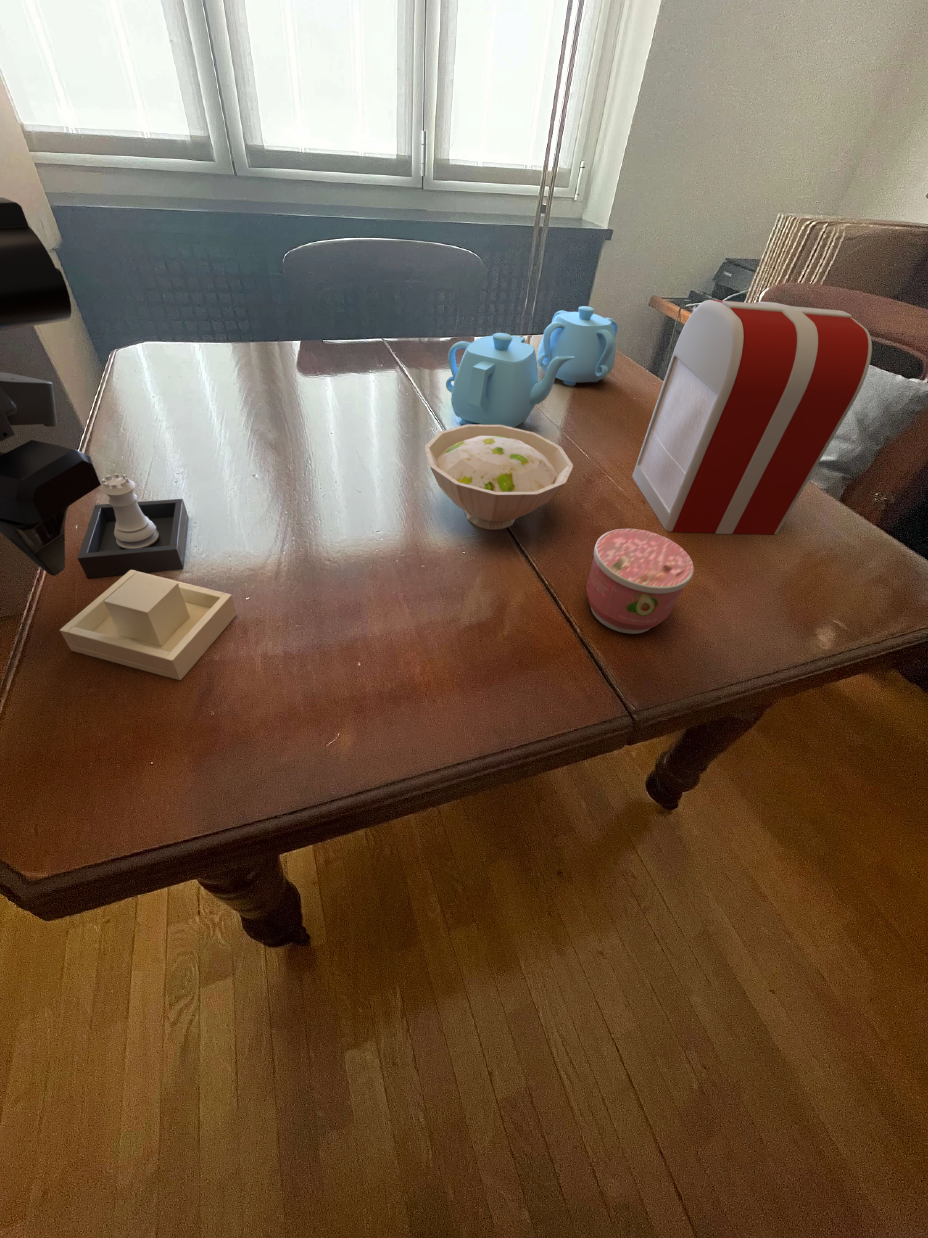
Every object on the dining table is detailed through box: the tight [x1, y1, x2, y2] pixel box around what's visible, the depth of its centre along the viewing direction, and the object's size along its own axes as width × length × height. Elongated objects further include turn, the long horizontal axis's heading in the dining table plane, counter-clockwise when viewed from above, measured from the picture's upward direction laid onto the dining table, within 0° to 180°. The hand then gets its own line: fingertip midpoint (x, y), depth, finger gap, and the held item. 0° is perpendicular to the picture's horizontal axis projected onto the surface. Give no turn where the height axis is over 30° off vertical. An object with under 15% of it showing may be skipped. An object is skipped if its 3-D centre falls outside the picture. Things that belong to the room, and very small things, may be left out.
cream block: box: [104, 573, 190, 647], centre depth 53 cm, size 4×4×4 cm
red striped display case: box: [631, 299, 873, 535], centre depth 75 cm, size 16×18×27 cm
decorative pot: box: [536, 305, 619, 386], centre depth 115 cm, size 16×16×14 cm
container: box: [585, 528, 695, 635], centre depth 61 cm, size 10×10×8 cm
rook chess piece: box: [100, 472, 159, 549], centre depth 61 cm, size 4×4×8 cm
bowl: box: [424, 424, 574, 531], centre depth 73 cm, size 19×19×10 cm
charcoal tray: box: [77, 498, 190, 579], centre depth 63 cm, size 11×10×3 cm
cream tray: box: [59, 570, 238, 681], centre depth 54 cm, size 12×10×3 cm
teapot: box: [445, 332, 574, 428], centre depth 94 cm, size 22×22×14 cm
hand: (7, 559), depth 43 cm, fingers open, 9 cm apart
